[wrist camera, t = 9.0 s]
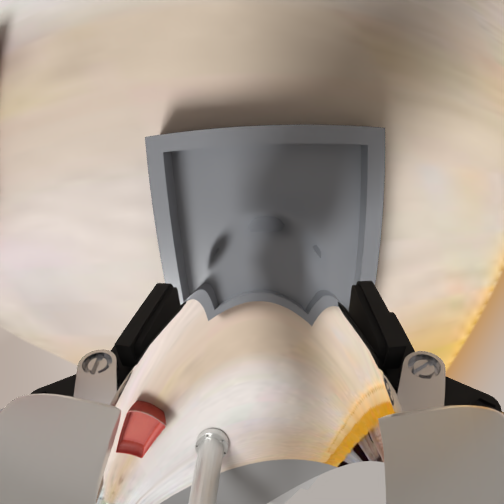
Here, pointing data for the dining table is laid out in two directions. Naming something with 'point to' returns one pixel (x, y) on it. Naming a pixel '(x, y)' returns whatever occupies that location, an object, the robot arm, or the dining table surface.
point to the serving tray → (269, 193)
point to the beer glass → (254, 386)
